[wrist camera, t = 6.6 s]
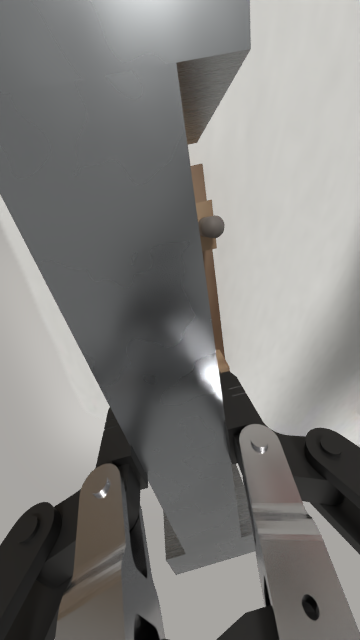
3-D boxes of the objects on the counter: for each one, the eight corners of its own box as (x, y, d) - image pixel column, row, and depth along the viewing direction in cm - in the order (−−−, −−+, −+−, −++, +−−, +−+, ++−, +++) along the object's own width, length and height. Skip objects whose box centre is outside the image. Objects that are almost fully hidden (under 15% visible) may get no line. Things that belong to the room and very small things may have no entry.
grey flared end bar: (180, 4, 5) (240, -418, 2) (237, 481, 17) (261, 549, 13) (-41, 41, 5) (-462, -368, 2) (170, 500, 17) (175, 574, 13)
